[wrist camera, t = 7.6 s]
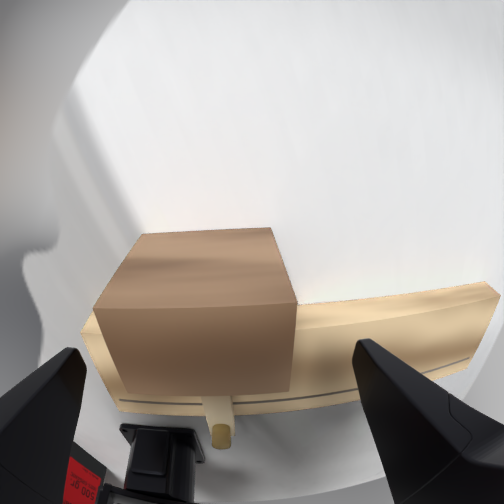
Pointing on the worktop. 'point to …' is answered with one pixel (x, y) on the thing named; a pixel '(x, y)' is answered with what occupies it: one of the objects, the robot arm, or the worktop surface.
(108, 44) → the worktop surface
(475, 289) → the board
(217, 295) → the brown block with rod
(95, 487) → the cleaning product box
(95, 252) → the worktop surface
